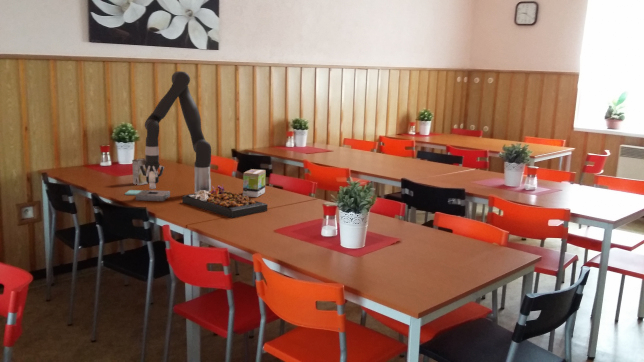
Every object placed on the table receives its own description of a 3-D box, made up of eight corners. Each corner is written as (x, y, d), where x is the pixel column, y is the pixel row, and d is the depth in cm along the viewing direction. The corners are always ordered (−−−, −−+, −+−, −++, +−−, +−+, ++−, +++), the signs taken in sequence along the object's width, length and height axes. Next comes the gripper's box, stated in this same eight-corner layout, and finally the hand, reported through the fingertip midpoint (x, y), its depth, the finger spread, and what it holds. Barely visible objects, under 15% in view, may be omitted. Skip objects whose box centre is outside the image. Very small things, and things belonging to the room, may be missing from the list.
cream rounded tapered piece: (157, 187, 337) (157, 171, 335) (155, 189, 332) (155, 172, 331) (150, 187, 337) (149, 170, 335) (147, 188, 332) (147, 172, 331)
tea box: (258, 197, 346) (258, 173, 343) (242, 196, 348) (242, 172, 345) (265, 192, 361) (265, 169, 358) (250, 191, 363) (250, 168, 360)
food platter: (182, 203, 327) (182, 186, 325) (217, 197, 345) (217, 180, 343) (232, 219, 298) (232, 200, 296) (267, 211, 316) (267, 193, 314)
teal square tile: (144, 192, 350) (144, 190, 350) (140, 195, 341) (139, 193, 341) (129, 191, 350) (129, 190, 350) (124, 194, 341) (124, 193, 341)
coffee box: (144, 182, 379) (144, 158, 376) (150, 183, 376) (150, 159, 373) (132, 184, 372) (132, 159, 369) (138, 185, 368) (138, 160, 365)
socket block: (170, 195, 343) (169, 190, 342) (163, 201, 329) (163, 196, 328) (143, 194, 343) (143, 190, 342) (135, 200, 329) (135, 195, 328)
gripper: (166, 153, 334) (166, 182, 338) (141, 152, 334) (142, 181, 338) (162, 155, 327) (162, 184, 330) (137, 154, 327) (138, 183, 330)
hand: (152, 182), depth 334 cm, fingers closed on cream rounded tapered piece, 4 cm apart
